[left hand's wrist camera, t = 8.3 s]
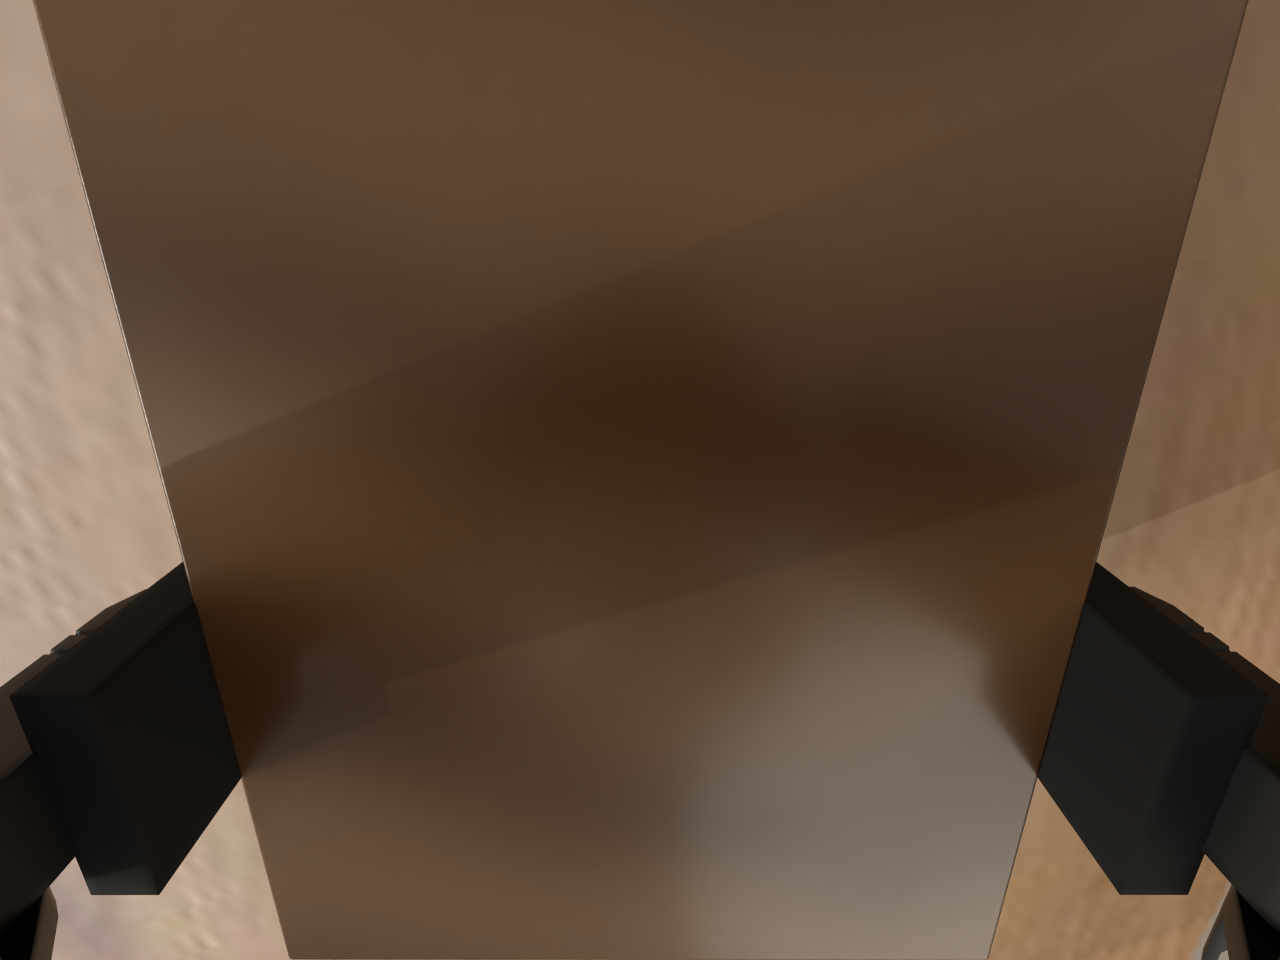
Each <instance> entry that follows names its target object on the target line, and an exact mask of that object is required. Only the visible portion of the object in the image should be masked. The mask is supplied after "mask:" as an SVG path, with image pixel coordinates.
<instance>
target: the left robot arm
mask: <svg viewBox="0 0 1280 960" xmlns="http://www.w3.org/2000/svg"><path fill="white" fill-rule="evenodd" d="M1038 778H1039V780H1040V781H1041V783H1042V784H1043V786H1044V787H1045V788H1046V790H1047V791H1048V793H1049V794H1050V796H1051V797H1052V798H1053V800H1054V801H1055V803H1056V804H1057V806H1058V807H1059V808H1060V810H1061V811H1062V813H1063V814H1064V816H1065V817H1066V818H1067V820H1068V821H1069V823H1070V824H1071V826H1072V827H1073V828H1074V830H1075V831H1076V833H1077V834H1078V836H1079V837H1080V838H1081V840H1082V841H1083V843H1084V844H1085V846H1086V847H1087V848H1088V850H1089V851H1090V853H1091V854H1092V855H1093V857H1094V858H1095V860H1096V861H1097V863H1098V864H1099V865H1100V867H1101V868H1102V870H1103V871H1104V873H1105V874H1106V875H1107V877H1108V878H1109V880H1110V881H1111V883H1112V884H1113V885H1114V887H1115V888H1116V890H1117V891H1118V893H1119V894H1120V895H1188V893H1189V891H1190V888H1191V886H1192V883H1193V881H1194V879H1195V876H1196V874H1197V871H1198V869H1199V866H1200V864H1201V862H1202V859H1203V857H1204V854H1206V855H1207V856H1208V858H1209V859H1210V860H1211V861H1212V862H1213V863H1214V864H1215V866H1216V867H1217V868H1218V869H1219V870H1220V871H1221V872H1222V874H1223V875H1224V876H1225V877H1226V878H1227V879H1228V880H1229V882H1230V883H1231V884H1232V885H1231V887H1230V889H1229V892H1228V894H1227V896H1226V898H1225V901H1224V903H1223V905H1222V907H1221V910H1220V912H1219V914H1218V916H1217V919H1216V921H1215V923H1214V925H1213V928H1212V930H1211V932H1210V934H1209V937H1208V939H1207V941H1206V943H1205V946H1204V948H1203V953H1202V959H1201V960H1218V958H1219V956H1220V953H1221V952H1224V951H1226V950H1228V955H1229V960H1280V684H1279V683H1277V682H1276V681H1275V680H1273V679H1272V678H1271V677H1269V676H1268V675H1267V674H1265V673H1264V672H1263V671H1261V670H1260V669H1259V668H1257V667H1256V666H1254V665H1253V664H1252V663H1250V662H1249V661H1248V660H1246V659H1245V658H1244V657H1242V656H1241V655H1240V654H1238V653H1237V652H1230V650H1229V646H1227V645H1226V644H1225V643H1223V642H1222V641H1221V640H1219V639H1218V638H1217V637H1215V636H1214V635H1213V634H1211V633H1207V632H1204V628H1203V627H1202V626H1200V625H1199V624H1198V623H1196V622H1195V621H1194V620H1192V619H1191V618H1190V617H1188V616H1187V615H1186V614H1184V613H1183V612H1182V611H1180V610H1179V609H1177V608H1176V607H1175V606H1173V605H1171V604H1169V603H1167V602H1165V601H1163V600H1161V599H1159V598H1157V597H1154V596H1152V595H1150V594H1148V593H1146V592H1144V591H1142V590H1140V589H1138V588H1136V587H1128V586H1127V585H1126V584H1124V583H1123V582H1122V581H1120V580H1119V579H1118V578H1117V577H1115V576H1114V575H1113V574H1111V573H1110V572H1109V571H1107V570H1106V569H1105V568H1104V567H1102V566H1101V565H1100V564H1098V563H1097V562H1096V563H1095V567H1094V571H1093V574H1092V578H1091V582H1090V585H1089V589H1088V593H1087V596H1086V600H1085V604H1084V608H1083V611H1082V615H1081V619H1080V622H1079V626H1078V630H1077V633H1076V637H1075V641H1074V644H1073V648H1072V652H1071V655H1070V659H1069V663H1068V666H1067V670H1066V674H1065V677H1064V681H1063V685H1062V689H1061V692H1060V696H1059V700H1058V703H1057V707H1056V711H1055V714H1054V718H1053V722H1052V725H1051V729H1050V733H1049V736H1048V740H1047V744H1046V747H1045V751H1044V755H1043V758H1042V762H1041V766H1040V770H1039V773H1038ZM240 779H241V775H240V771H239V767H238V764H237V760H236V756H235V752H234V749H233V745H232V741H231V738H230V734H229V730H228V726H227V723H226V719H225V715H224V712H223V708H222V704H221V701H220V697H219V693H218V689H217V686H216V682H215V678H214V675H213V671H212V667H211V663H210V660H209V656H208V652H207V649H206V645H205V641H204V637H203V634H202V630H201V626H200V623H199V619H198V615H197V611H196V608H195V604H194V600H193V596H192V593H191V589H190V585H189V581H188V578H187V574H186V570H185V567H184V563H183V562H182V563H181V564H179V565H178V566H177V567H176V568H174V569H173V570H172V571H170V572H169V573H168V574H166V575H165V576H164V577H163V578H161V579H160V580H159V581H157V582H156V583H155V584H153V585H152V586H151V587H150V588H148V589H145V590H143V591H141V592H139V593H137V594H135V595H133V596H131V597H129V598H127V599H125V600H123V601H120V602H118V603H116V604H114V605H112V606H110V607H108V608H106V609H105V610H103V611H102V612H101V613H99V614H98V615H97V616H95V617H94V618H93V619H91V620H90V621H89V622H87V623H86V624H85V625H83V626H82V627H80V628H79V629H78V630H76V635H70V636H68V637H67V638H66V639H64V640H63V641H62V642H60V643H59V644H58V645H56V646H55V647H54V648H52V649H51V653H50V655H43V656H42V657H40V658H39V659H38V660H36V661H35V662H34V663H32V664H31V665H30V666H28V667H27V668H26V669H24V670H23V671H22V672H20V673H19V674H18V675H16V676H15V677H13V678H12V679H11V680H9V681H8V682H7V683H5V684H4V685H3V686H1V687H0V960H51V958H52V952H53V945H54V939H55V933H56V927H57V921H58V911H57V905H56V901H55V898H54V896H53V894H52V891H51V889H50V887H49V886H50V885H51V884H52V882H53V881H54V880H55V879H56V878H57V877H58V876H59V874H60V873H61V872H62V871H63V870H64V869H65V868H66V866H67V865H68V864H69V863H70V862H71V861H72V860H73V858H74V857H76V859H77V862H78V864H79V867H80V869H81V871H82V874H83V876H84V879H85V881H86V884H87V886H88V888H89V891H90V893H91V895H159V894H160V893H161V891H162V890H163V889H164V887H165V886H166V884H167V883H168V881H169V880H170V879H171V877H172V876H173V874H174V873H175V871H176V870H177V869H178V867H179V866H180V864H181V863H182V861H183V860H184V859H185V857H186V856H187V854H188V853H189V852H190V850H191V849H192V847H193V846H194V844H195V843H196V842H197V840H198V839H199V837H200V836H201V834H202V833H203V832H204V830H205V829H206V827H207V826H208V824H209V823H210V822H211V820H212V819H213V817H214V816H215V814H216V813H217V812H218V810H219V809H220V807H221V806H222V804H223V803H224V802H225V800H226V799H227V797H228V796H229V794H230V793H231V792H232V790H233V789H234V787H235V786H236V785H237V783H238V782H239V780H240Z"/></svg>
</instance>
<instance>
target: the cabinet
mask: <svg viewBox="0 0 1280 960" xmlns="http://www.w3.org/2000/svg"><path fill="white" fill-rule="evenodd" d="M33 3H34V7H35V10H36V14H37V18H38V21H39V25H40V29H41V33H42V36H43V40H44V44H45V48H46V51H47V55H48V59H49V63H50V66H51V70H52V74H53V77H54V81H55V85H56V89H57V92H58V96H59V100H60V104H61V107H62V111H63V115H64V119H65V122H66V126H67V130H68V133H69V137H70V141H71V145H72V148H73V152H74V156H75V160H76V163H77V167H78V171H79V175H80V178H81V182H82V186H83V189H84V193H85V197H86V201H87V204H88V208H89V212H90V216H91V219H92V223H93V227H94V231H95V234H96V238H97V242H98V245H99V249H100V253H101V257H102V260H103V264H104V268H105V272H106V275H107V279H108V283H109V287H110V290H111V294H112V298H113V301H114V305H115V309H116V313H117V316H118V320H119V324H120V328H121V331H122V335H123V339H124V343H125V346H126V350H127V354H128V357H129V361H130V365H131V369H132V372H133V376H134V380H135V384H136V387H137V391H138V395H139V399H140V402H141V406H142V410H143V413H144V417H145V421H146V425H147V428H148V432H149V436H150V440H151V443H152V447H153V451H154V455H155V458H156V462H157V466H158V469H159V473H160V477H161V481H162V484H163V488H164V492H165V496H166V499H167V503H168V507H169V511H170V514H171V518H172V522H173V525H174V529H175V533H176V537H177V540H178V544H179V548H180V552H181V555H182V559H183V563H184V567H185V570H186V574H187V578H188V581H189V585H190V589H191V593H192V596H193V600H194V604H195V608H196V611H197V615H198V619H199V623H200V626H201V630H202V634H203V637H204V641H205V645H206V649H207V652H208V656H209V660H210V663H211V667H212V671H213V675H214V678H215V682H216V686H217V689H218V693H219V697H220V701H221V704H222V708H223V712H224V715H225V719H226V723H227V726H228V730H229V734H230V738H231V741H232V745H233V749H234V752H235V756H236V760H237V764H238V767H239V771H240V775H241V779H242V783H243V787H244V791H245V794H246V798H247V802H248V805H249V809H250V813H251V817H252V820H253V824H254V828H255V832H256V835H257V839H258V843H259V846H260V850H261V854H262V858H263V861H264V865H265V869H266V873H267V876H268V880H269V884H270V888H271V891H272V895H273V899H274V902H275V906H276V910H277V914H278V917H279V921H280V925H281V929H282V932H283V936H284V940H285V944H286V947H287V951H288V955H289V958H290V959H466V960H987V959H988V957H989V954H990V950H991V946H992V943H993V939H994V935H995V932H996V928H997V924H998V920H999V917H1000V913H1001V909H1002V906H1003V902H1004V898H1005V895H1006V891H1007V887H1008V884H1009V880H1010V876H1011V873H1012V869H1013V865H1014V862H1015V858H1016V854H1017V851H1018V847H1019V843H1020V839H1021V836H1022V832H1023V828H1024V825H1025V821H1026V817H1027V814H1028V810H1029V806H1030V803H1031V799H1032V795H1033V792H1034V788H1035V784H1036V781H1037V777H1038V773H1039V770H1040V766H1041V762H1042V758H1043V755H1044V751H1045V747H1046V744H1047V740H1048V736H1049V733H1050V729H1051V725H1052V722H1053V718H1054V714H1055V711H1056V707H1057V703H1058V700H1059V696H1060V692H1061V689H1062V685H1063V681H1064V677H1065V674H1066V670H1067V666H1068V663H1069V659H1070V655H1071V652H1072V648H1073V644H1074V641H1075V637H1076V633H1077V630H1078V626H1079V622H1080V619H1081V615H1082V611H1083V608H1084V604H1085V600H1086V596H1087V593H1088V589H1089V585H1090V582H1091V578H1092V574H1093V571H1094V567H1095V563H1096V560H1097V556H1098V552H1099V549H1100V545H1101V541H1102V538H1103V534H1104V530H1105V527H1106V523H1107V519H1108V515H1109V512H1110V508H1111V504H1112V501H1113V497H1114V493H1115V490H1116V486H1117V482H1118V479H1119V475H1120V471H1121V468H1122V464H1123V460H1124V457H1125V453H1126V449H1127V445H1128V442H1129V438H1130V434H1131V431H1132V427H1133V423H1134V420H1135V416H1136V412H1137V409H1138V405H1139V401H1140V398H1141V394H1142V390H1143V387H1144V383H1145V379H1146V376H1147V372H1148V368H1149V364H1150V361H1151V357H1152V353H1153V350H1154V346H1155V342H1156V339H1157V335H1158V331H1159V328H1160V324H1161V320H1162V317H1163V313H1164V309H1165V306H1166V302H1167V298H1168V295H1169V291H1170V287H1171V283H1172V280H1173V276H1174V272H1175V269H1176V265H1177V261H1178V258H1179V254H1180V250H1181V247H1182V243H1183V239H1184V236H1185V232H1186V228H1187V225H1188V221H1189V217H1190V214H1191V210H1192V206H1193V202H1194V199H1195V195H1196V191H1197V188H1198V184H1199V180H1200V177H1201V173H1202V169H1203V166H1204V162H1205V158H1206V155H1207V151H1208V147H1209V144H1210V140H1211V136H1212V133H1213V129H1214V125H1215V121H1216V118H1217V114H1218V110H1219V107H1220V103H1221V99H1222V96H1223V92H1224V88H1225V85H1226V81H1227V77H1228V74H1229V70H1230V66H1231V63H1232V59H1233V55H1234V52H1235V48H1236V44H1237V40H1238V37H1239V33H1240V29H1241V26H1242V22H1243V18H1244V15H1245V11H1246V7H1247V4H1248V0H33Z"/></svg>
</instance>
